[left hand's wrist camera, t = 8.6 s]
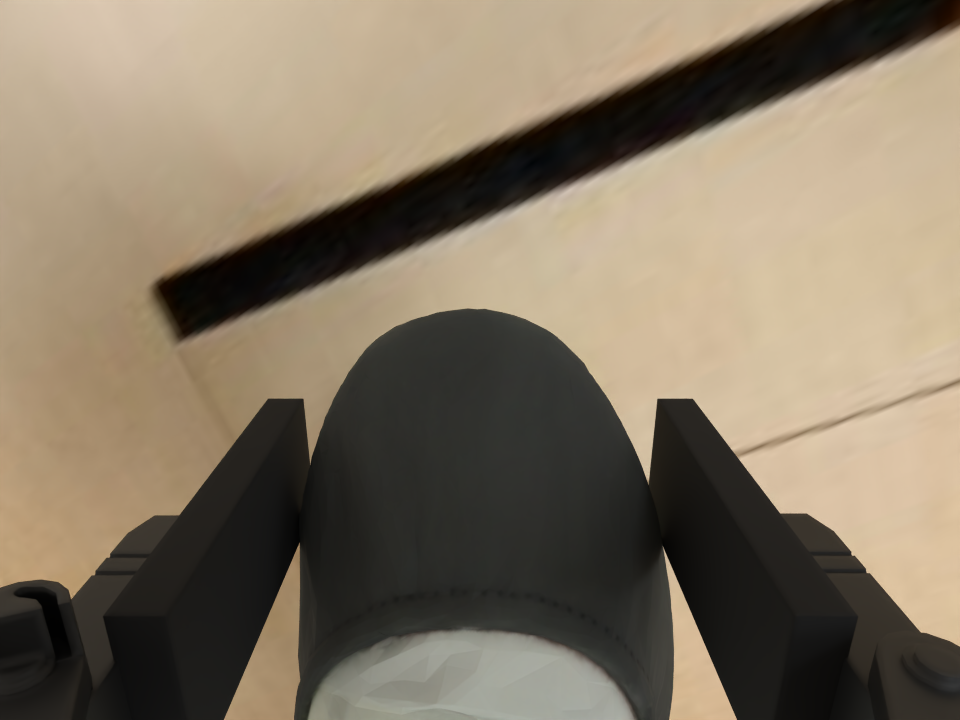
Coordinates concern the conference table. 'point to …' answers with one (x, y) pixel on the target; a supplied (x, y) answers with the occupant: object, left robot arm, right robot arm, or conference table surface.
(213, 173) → the conference table surface
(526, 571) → the ballet flat
